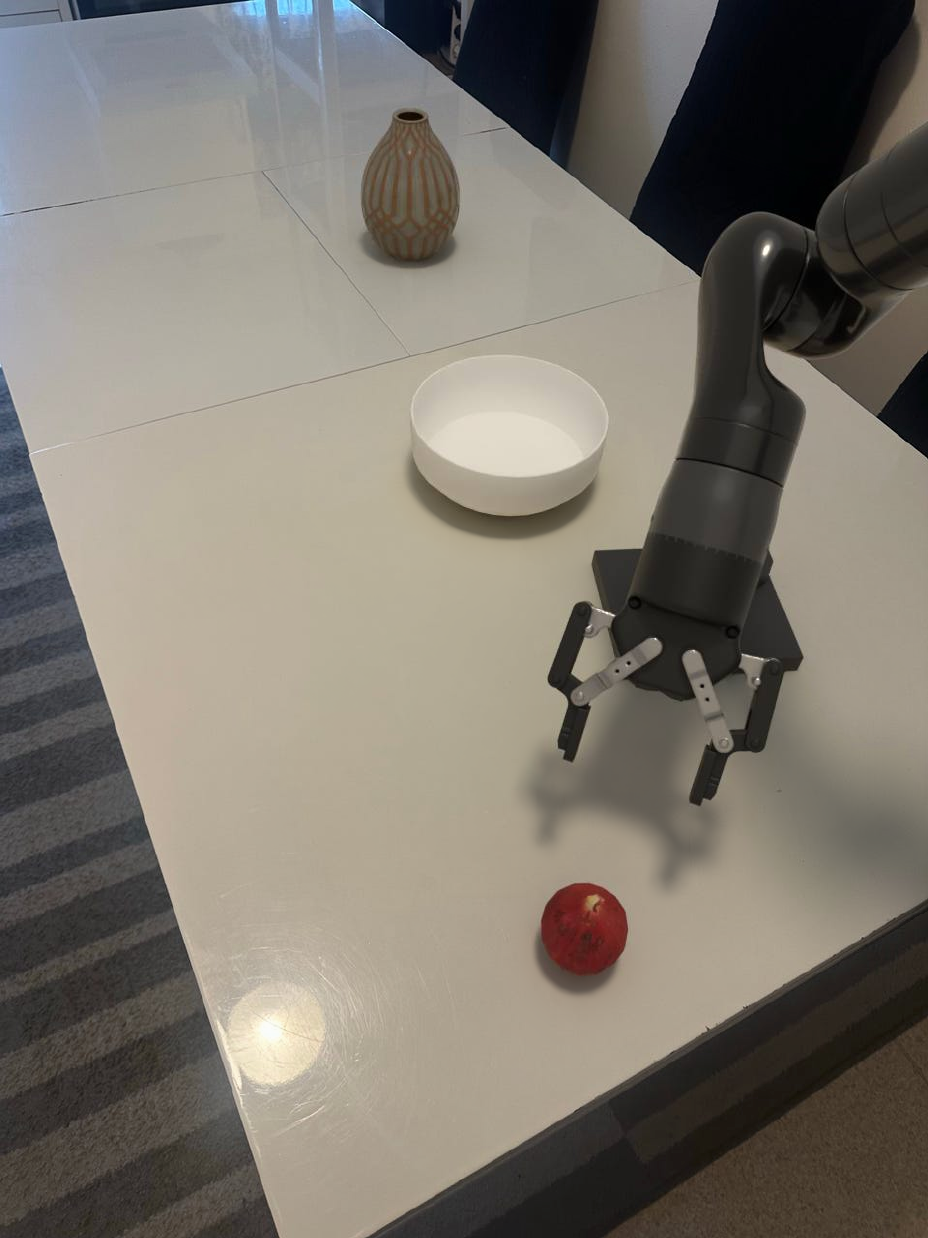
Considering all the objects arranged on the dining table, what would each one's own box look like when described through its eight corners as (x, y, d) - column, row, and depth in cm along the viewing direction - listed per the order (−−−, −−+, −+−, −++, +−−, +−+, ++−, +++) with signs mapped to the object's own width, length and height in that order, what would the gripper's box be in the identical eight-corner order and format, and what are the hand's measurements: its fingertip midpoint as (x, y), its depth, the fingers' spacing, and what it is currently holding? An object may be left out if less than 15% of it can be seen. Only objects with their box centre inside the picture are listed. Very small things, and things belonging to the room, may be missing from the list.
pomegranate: (607, 1003, 62) (628, 960, 56) (525, 974, 63) (537, 929, 57) (625, 924, 66) (647, 875, 60) (548, 898, 67) (561, 847, 61)
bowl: (513, 573, 88) (521, 508, 81) (371, 476, 96) (367, 410, 89) (633, 477, 97) (649, 412, 91) (494, 397, 106) (500, 332, 99)
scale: (751, 556, 90) (761, 531, 88) (797, 670, 81) (810, 645, 79) (591, 563, 89) (596, 537, 86) (620, 679, 80) (628, 655, 77)
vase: (343, 252, 125) (335, 116, 112) (401, 217, 133) (400, 85, 119) (420, 284, 121) (421, 146, 108) (476, 245, 128) (483, 112, 115)
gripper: (594, 508, 57) (519, 756, 58) (828, 574, 54) (742, 832, 55) (603, 517, 64) (536, 736, 65) (809, 575, 61) (734, 803, 63)
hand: (631, 780), depth 60 cm, fingers open, 8 cm apart
